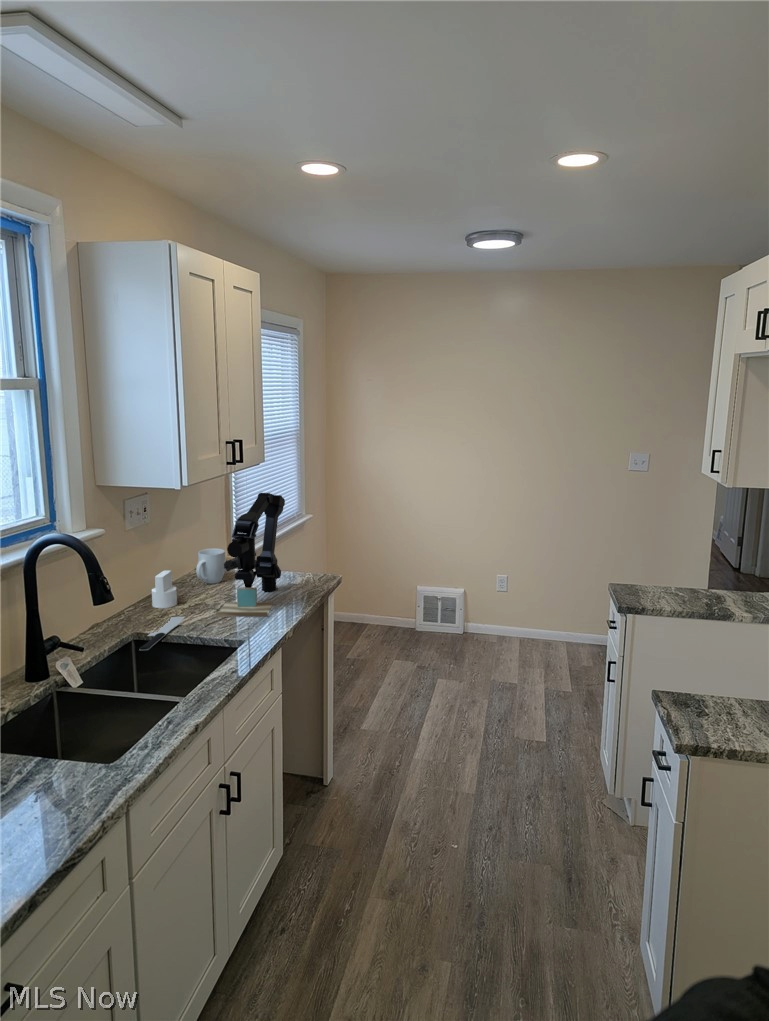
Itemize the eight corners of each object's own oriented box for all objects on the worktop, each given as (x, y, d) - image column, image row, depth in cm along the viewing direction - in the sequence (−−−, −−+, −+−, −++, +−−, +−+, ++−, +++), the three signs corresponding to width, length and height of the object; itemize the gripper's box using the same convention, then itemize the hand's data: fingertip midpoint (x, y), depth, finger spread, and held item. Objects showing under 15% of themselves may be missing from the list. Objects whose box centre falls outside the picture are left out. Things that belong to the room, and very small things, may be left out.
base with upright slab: (172, 608, 254) (170, 577, 251) (148, 607, 254) (146, 576, 252) (180, 601, 262) (179, 570, 260) (157, 600, 263) (156, 570, 261)
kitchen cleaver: (166, 615, 244) (192, 613, 243) (166, 620, 245) (193, 618, 243) (121, 648, 214) (151, 646, 213) (122, 653, 214) (152, 652, 213)
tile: (238, 605, 254) (237, 587, 253) (257, 605, 255) (256, 587, 253) (237, 606, 253) (236, 588, 252) (256, 607, 253) (255, 588, 252)
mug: (209, 589, 278) (208, 558, 275) (187, 585, 282) (186, 555, 279) (231, 579, 291) (230, 550, 289) (210, 576, 295) (209, 547, 293)
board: (225, 604, 258) (225, 598, 258) (273, 604, 259) (273, 598, 258) (216, 619, 243) (216, 612, 242) (267, 619, 243) (266, 612, 242)
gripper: (230, 545, 262) (231, 584, 265) (219, 557, 244) (221, 599, 247) (259, 545, 262) (260, 584, 265) (251, 557, 244) (252, 599, 247)
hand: (248, 591), depth 256 cm, fingers closed
